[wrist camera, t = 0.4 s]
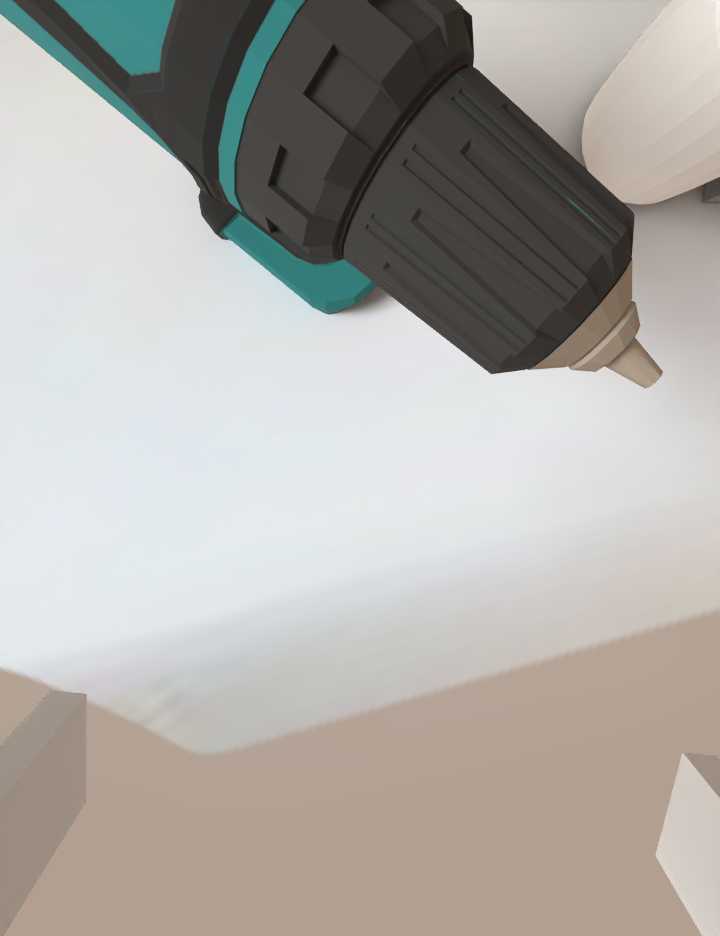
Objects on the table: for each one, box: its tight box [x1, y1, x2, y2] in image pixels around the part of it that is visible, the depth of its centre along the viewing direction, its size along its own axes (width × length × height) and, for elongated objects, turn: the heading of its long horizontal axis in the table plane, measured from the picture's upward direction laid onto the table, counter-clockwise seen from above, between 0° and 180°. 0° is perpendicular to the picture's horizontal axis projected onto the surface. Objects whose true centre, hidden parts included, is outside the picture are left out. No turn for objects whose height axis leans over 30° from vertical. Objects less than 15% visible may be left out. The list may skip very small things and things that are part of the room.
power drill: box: [0, 0, 663, 388], centre depth 23 cm, size 26×9×25 cm, turn 51°
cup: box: [582, 0, 720, 205], centre depth 27 cm, size 8×8×14 cm
